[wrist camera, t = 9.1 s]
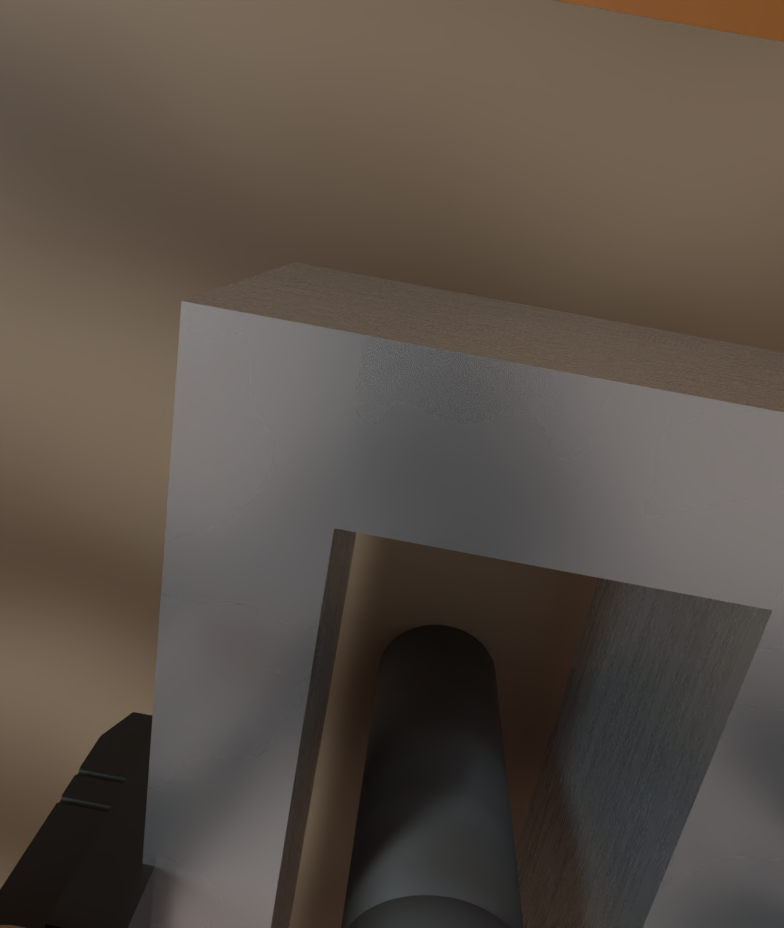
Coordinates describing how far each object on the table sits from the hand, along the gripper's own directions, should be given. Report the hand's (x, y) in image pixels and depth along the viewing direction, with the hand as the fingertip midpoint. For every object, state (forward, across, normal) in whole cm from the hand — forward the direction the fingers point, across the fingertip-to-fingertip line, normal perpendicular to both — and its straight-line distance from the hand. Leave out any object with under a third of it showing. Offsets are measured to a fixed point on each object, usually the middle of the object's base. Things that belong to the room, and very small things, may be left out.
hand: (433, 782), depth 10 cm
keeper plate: (+4, 0, 0) cm, 4 cm away
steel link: (+1, 0, 0) cm, 1 cm away
